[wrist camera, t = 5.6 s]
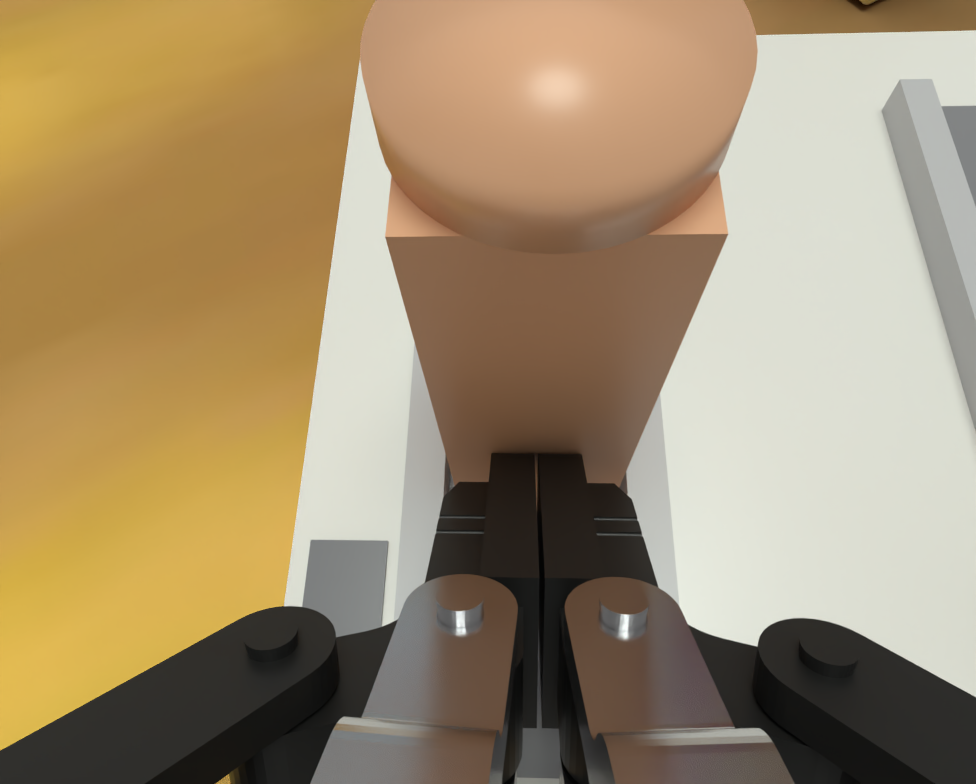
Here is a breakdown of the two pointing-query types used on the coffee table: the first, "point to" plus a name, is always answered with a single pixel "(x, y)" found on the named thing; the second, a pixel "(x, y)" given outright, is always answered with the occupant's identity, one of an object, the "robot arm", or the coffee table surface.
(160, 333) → the coffee table surface
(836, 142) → the switch panel
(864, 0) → the candy box
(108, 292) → the coffee table surface
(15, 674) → the coffee table surface
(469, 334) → the tan switch lever
